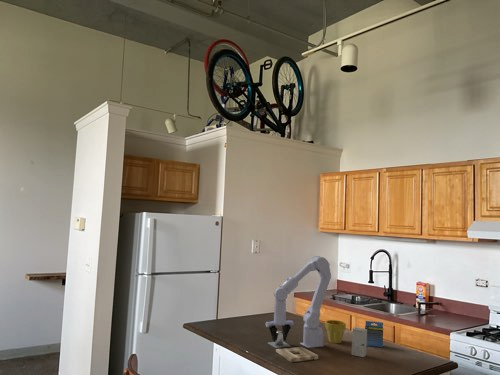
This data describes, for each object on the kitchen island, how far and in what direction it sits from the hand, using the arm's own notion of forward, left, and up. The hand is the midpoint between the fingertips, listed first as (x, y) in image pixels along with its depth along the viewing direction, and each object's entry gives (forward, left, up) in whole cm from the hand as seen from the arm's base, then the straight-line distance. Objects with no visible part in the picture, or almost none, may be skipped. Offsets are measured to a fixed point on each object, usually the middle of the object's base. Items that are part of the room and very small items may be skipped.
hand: (279, 340), depth 206 cm
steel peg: (0, 0, -2) cm, 2 cm away
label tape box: (-47, +14, -2) cm, 49 cm away
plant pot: (-32, +2, -2) cm, 32 cm away
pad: (0, 0, -2) cm, 2 cm away
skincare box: (-29, +25, -2) cm, 38 cm away
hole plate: (0, +17, -2) cm, 17 cm away
